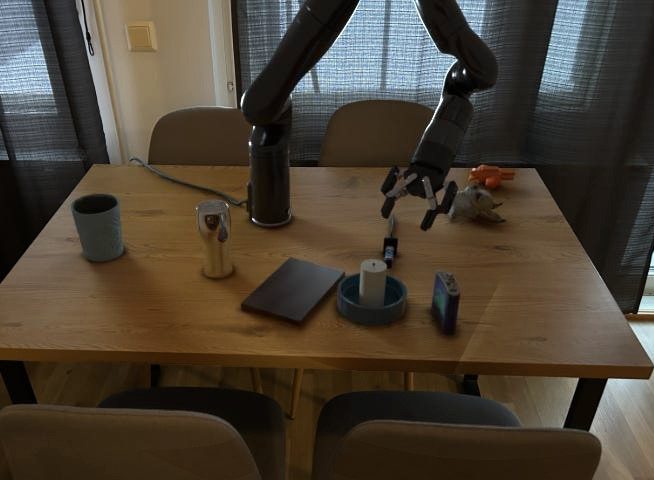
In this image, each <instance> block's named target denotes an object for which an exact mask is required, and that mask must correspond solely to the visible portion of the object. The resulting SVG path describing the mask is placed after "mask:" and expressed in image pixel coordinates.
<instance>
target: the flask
mask: <svg viewBox="0 0 654 480" xmlns="http://www.w3.org/2000/svg"><path fill="white" fill-rule="evenodd" d="M454 276H455V277H456V276H457V273H455V272H453V273H452V272H448V271H446V270H445V269H438V270H436V271H435V273H434V282H433V289H432V290H433V291H432V299H431V304H430V312H431V313H432V315H433V317H435V319H436V320H437V322H438V323H439V325H440V328H441V332H442V334H444V335H446V336H454V335H455V334H456V331H457V329H456V328H457V322H458V321H457V320H458V312H459V306H460V300H461V290H460V287H459V285H458V283H457V281H456V279H455V277H454Z"/></svg>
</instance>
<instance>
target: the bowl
mask: <svg viewBox="0 0 654 480" xmlns="http://www.w3.org/2000/svg"><path fill="white" fill-rule="evenodd" d="M360 273H361V271H360V272H355V273H352V274H349V275H347V276H345V277H344V278H343V279H342V280H341V282H340V283H339V284H338V285H337V287H336V289H337V291H336V307H337V310H338V312H339V313H340V315H341V316H343V317H344V318H345V319H347V320H349V321H350V322H352V323H356V324H360V325H365V326H383V325H388V324H392V323H394V322H396V321H398V320H399V319H400V318H402V317H403V316H404V314H405V313H406V308H407V299H408V298H407V297H408V290H407V286H406V285H405V284H404V282H403V281H402V280H400V279H399V278H398V277H395V276H394V275H391V274H389V273H386V282H385V294H384V307H375V308H372V307H363V306H360V305H359V291H360Z"/></svg>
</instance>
